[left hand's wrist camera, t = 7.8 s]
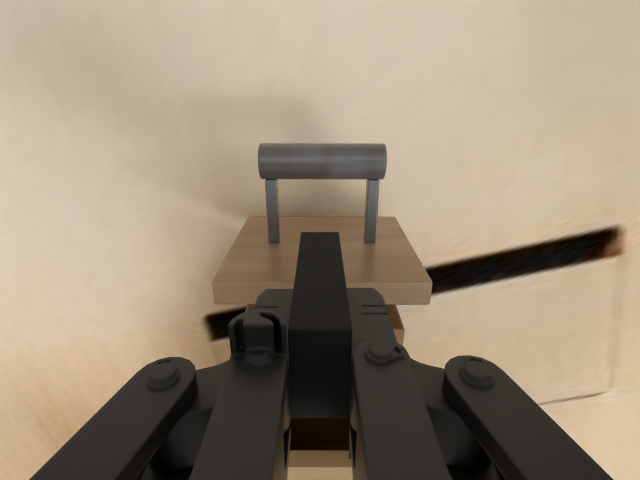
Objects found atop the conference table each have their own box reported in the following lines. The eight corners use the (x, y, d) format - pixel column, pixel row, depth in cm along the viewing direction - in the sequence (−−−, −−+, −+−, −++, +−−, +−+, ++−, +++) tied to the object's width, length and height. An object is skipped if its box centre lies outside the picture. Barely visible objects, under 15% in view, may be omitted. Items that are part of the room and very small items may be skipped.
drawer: (242, 133, 22) (195, 160, 14) (402, 134, 22) (449, 160, 14) (265, 437, 32) (246, 557, 24) (376, 437, 32) (395, 558, 24)
